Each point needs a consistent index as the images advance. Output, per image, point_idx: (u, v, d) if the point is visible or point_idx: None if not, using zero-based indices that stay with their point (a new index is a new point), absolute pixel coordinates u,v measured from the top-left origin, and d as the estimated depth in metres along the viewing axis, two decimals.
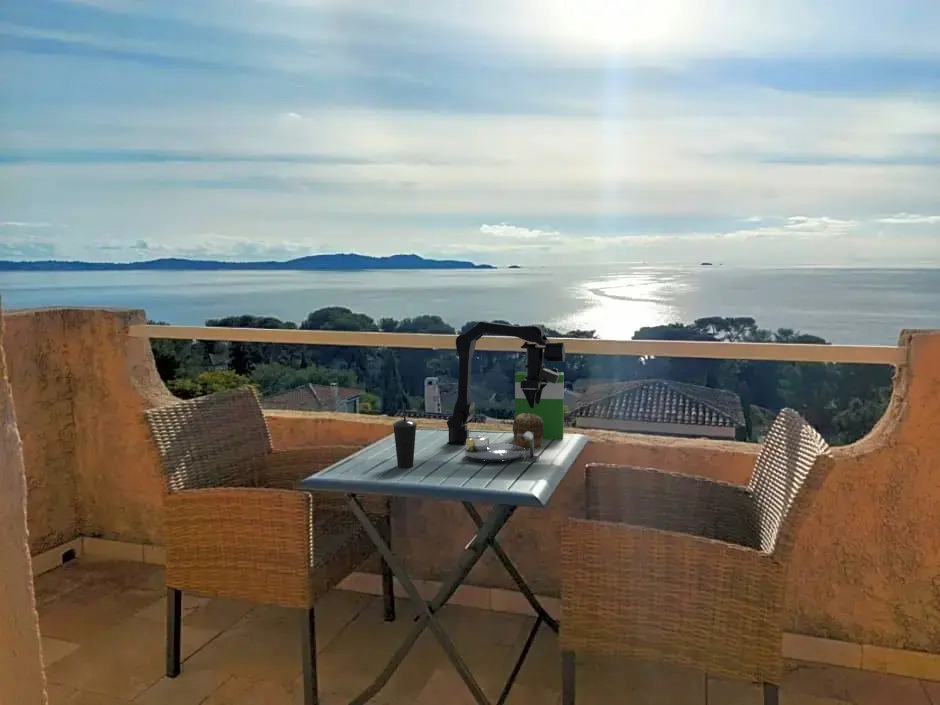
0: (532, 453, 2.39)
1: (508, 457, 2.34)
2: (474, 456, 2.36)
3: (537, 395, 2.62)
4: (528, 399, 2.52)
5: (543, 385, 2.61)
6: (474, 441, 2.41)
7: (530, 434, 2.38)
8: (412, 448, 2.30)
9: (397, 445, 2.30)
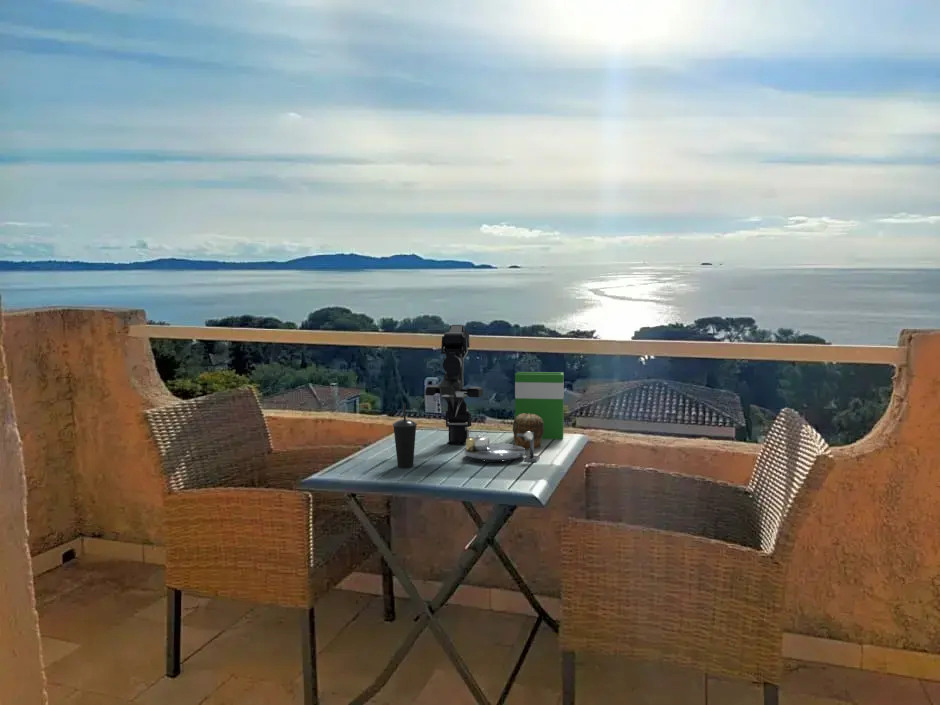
0: (532, 453, 2.39)
1: (508, 457, 2.34)
2: (474, 456, 2.36)
3: None
4: None
5: (454, 398, 2.44)
6: (474, 441, 2.41)
7: (530, 434, 2.38)
8: (412, 448, 2.30)
9: (397, 445, 2.30)
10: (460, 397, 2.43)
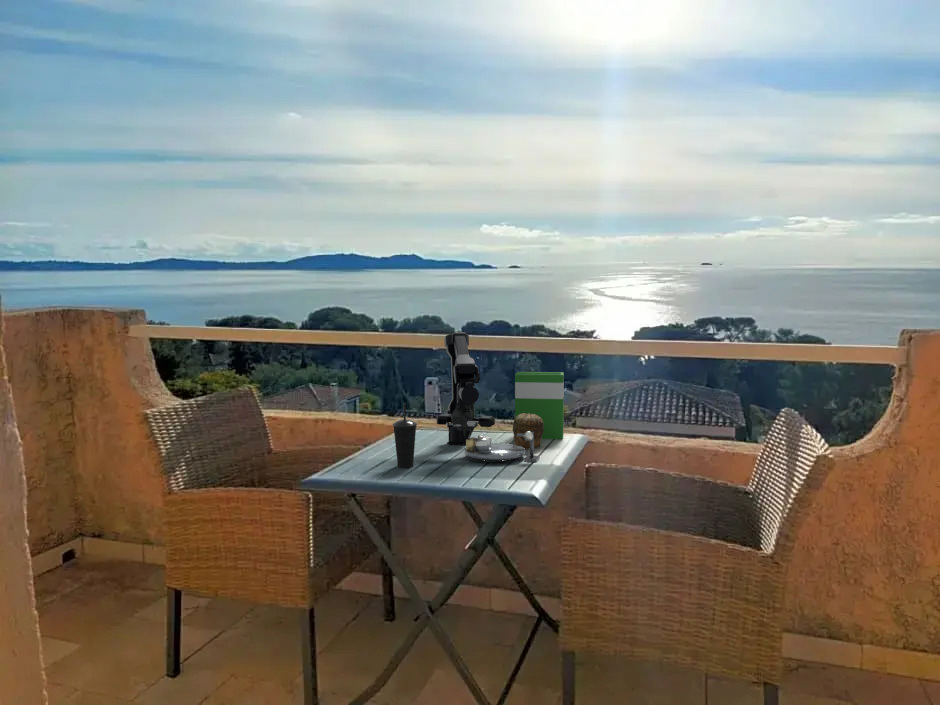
0: (532, 453, 2.39)
1: (508, 457, 2.34)
2: (474, 456, 2.36)
3: None
4: None
5: (465, 427, 2.43)
6: (476, 441, 2.41)
7: (530, 434, 2.38)
8: (412, 448, 2.30)
9: (397, 445, 2.30)
10: (472, 426, 2.43)
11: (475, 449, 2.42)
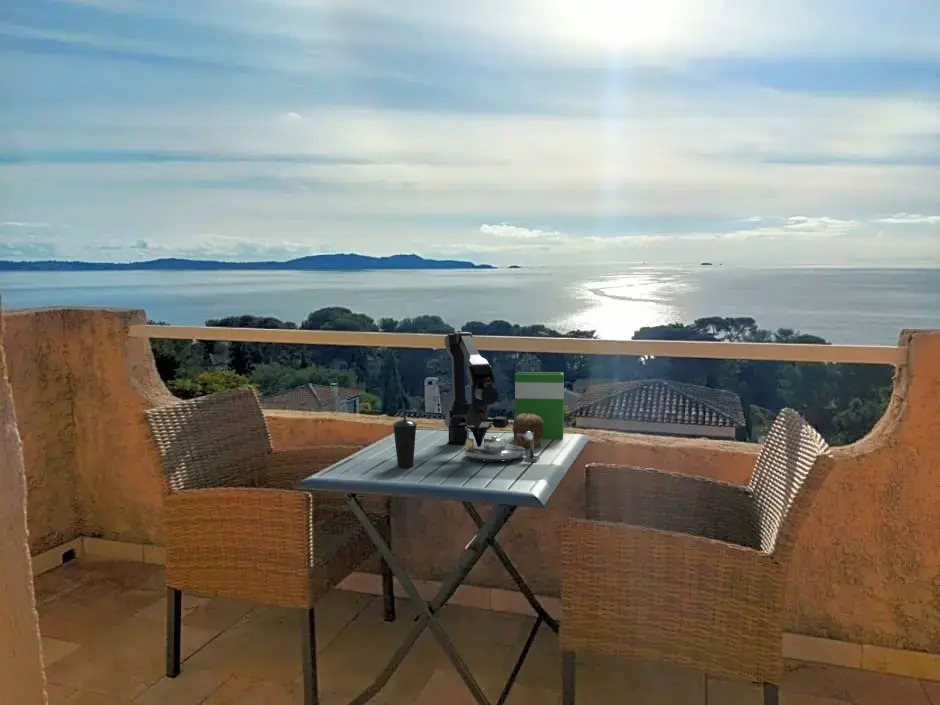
0: (532, 453, 2.39)
1: (508, 457, 2.34)
2: (474, 456, 2.36)
3: None
4: None
5: None
6: (490, 442, 2.40)
7: (530, 434, 2.38)
8: (412, 448, 2.30)
9: (397, 445, 2.30)
10: (485, 427, 2.41)
11: (489, 450, 2.40)
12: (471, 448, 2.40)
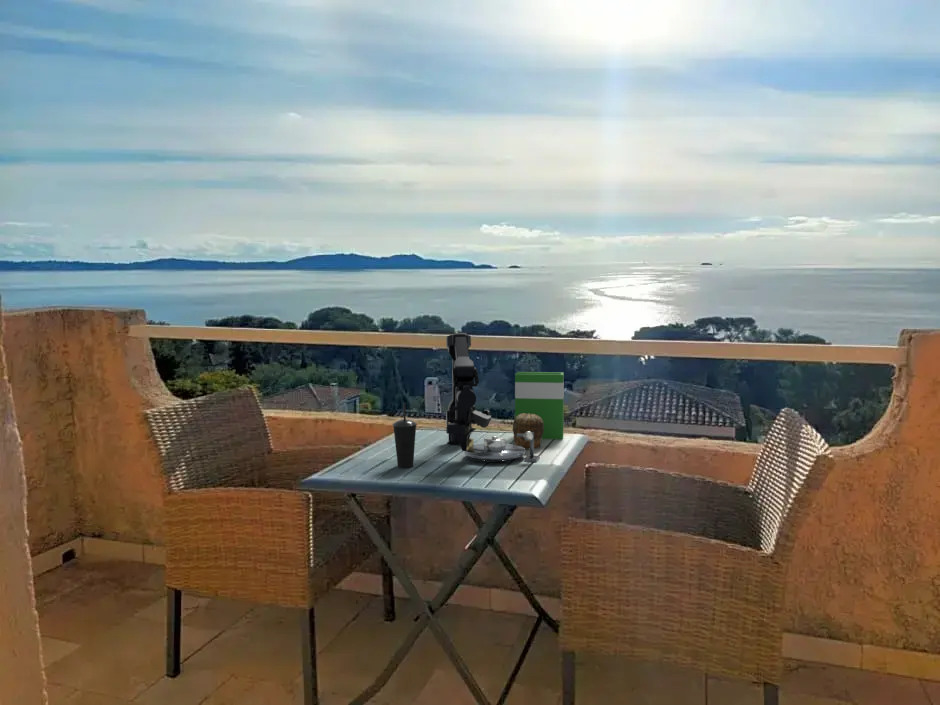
0: (532, 453, 2.39)
1: (508, 457, 2.34)
2: (474, 456, 2.36)
3: None
4: (460, 442, 2.37)
5: (470, 430, 2.38)
6: (490, 442, 2.40)
7: (530, 434, 2.38)
8: (412, 448, 2.30)
9: (397, 445, 2.30)
10: (473, 428, 2.40)
11: (489, 450, 2.40)
12: (471, 448, 2.40)
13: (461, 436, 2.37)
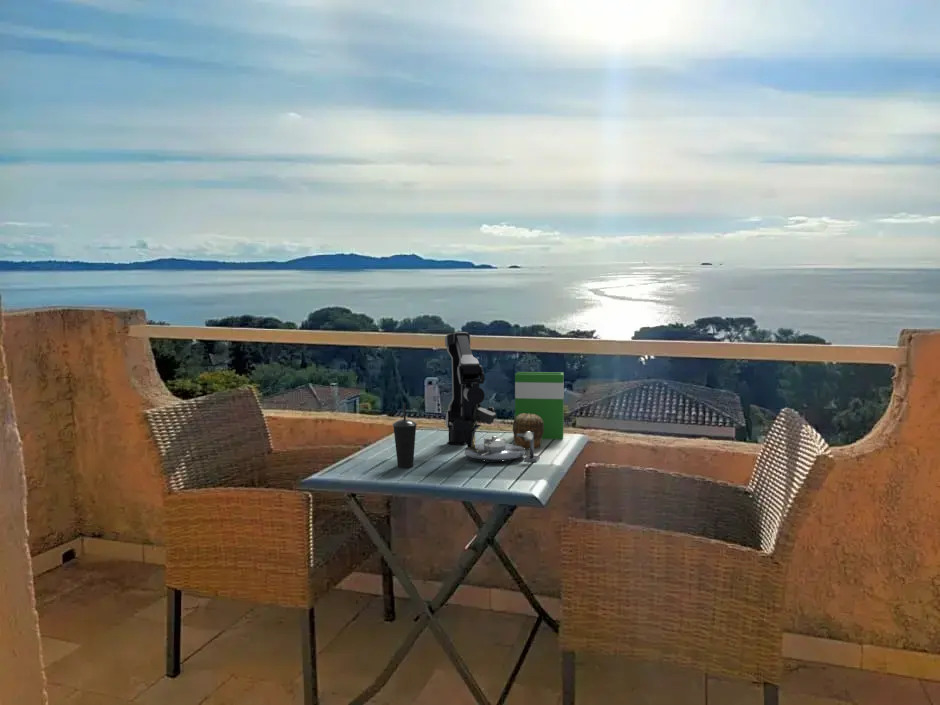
0: (532, 453, 2.39)
1: (486, 457, 2.34)
2: None
3: None
4: (465, 438, 2.43)
5: (476, 427, 2.43)
6: (485, 441, 2.42)
7: (530, 434, 2.38)
8: (412, 448, 2.30)
9: (397, 445, 2.30)
10: (478, 425, 2.45)
11: (484, 449, 2.42)
12: None
13: (466, 432, 2.42)
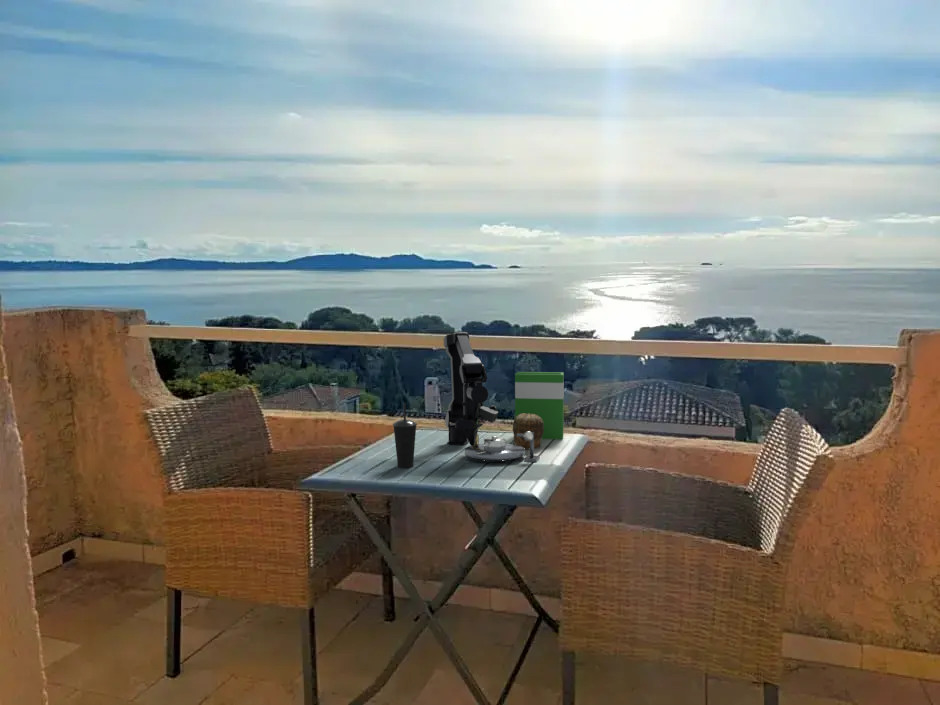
0: (532, 453, 2.39)
1: (479, 457, 2.35)
2: (464, 450, 2.45)
3: None
4: (468, 436, 2.45)
5: (478, 425, 2.45)
6: (484, 440, 2.42)
7: (530, 434, 2.38)
8: (412, 448, 2.30)
9: (397, 445, 2.30)
10: (480, 423, 2.47)
11: (484, 448, 2.43)
12: None
13: (469, 431, 2.44)
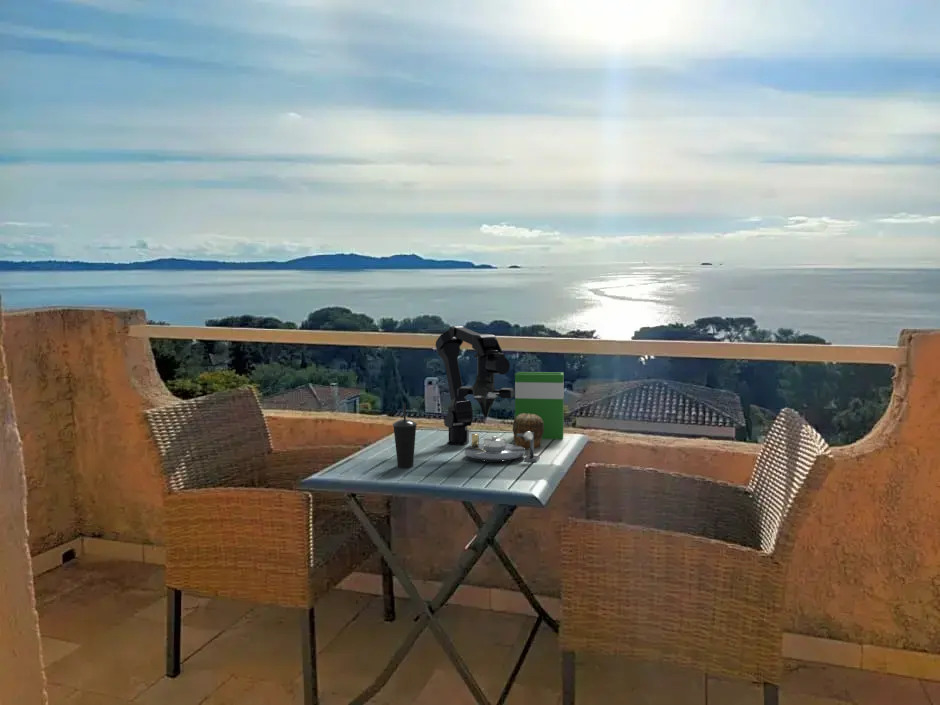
0: (532, 453, 2.39)
1: (479, 457, 2.35)
2: (464, 450, 2.45)
3: None
4: None
5: (486, 399, 2.48)
6: (484, 440, 2.42)
7: (530, 434, 2.38)
8: (412, 448, 2.30)
9: (397, 445, 2.30)
10: (492, 398, 2.47)
11: (484, 448, 2.43)
12: (473, 443, 2.48)
13: None
